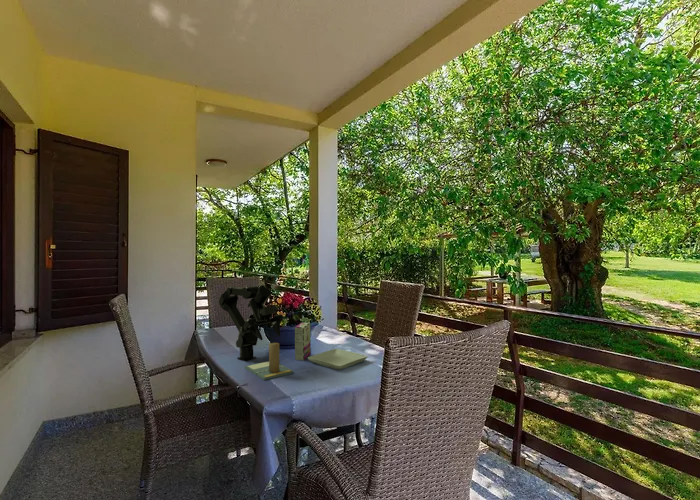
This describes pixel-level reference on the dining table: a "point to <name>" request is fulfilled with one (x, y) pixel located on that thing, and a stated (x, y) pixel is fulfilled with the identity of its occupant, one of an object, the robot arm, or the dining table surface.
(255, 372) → the ticket
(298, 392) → the dining table surface
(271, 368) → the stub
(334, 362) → the salad plate
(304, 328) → the candy bar box
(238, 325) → the robot arm
